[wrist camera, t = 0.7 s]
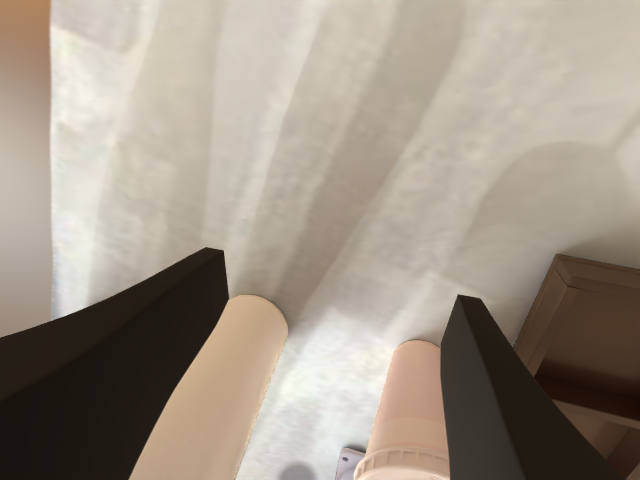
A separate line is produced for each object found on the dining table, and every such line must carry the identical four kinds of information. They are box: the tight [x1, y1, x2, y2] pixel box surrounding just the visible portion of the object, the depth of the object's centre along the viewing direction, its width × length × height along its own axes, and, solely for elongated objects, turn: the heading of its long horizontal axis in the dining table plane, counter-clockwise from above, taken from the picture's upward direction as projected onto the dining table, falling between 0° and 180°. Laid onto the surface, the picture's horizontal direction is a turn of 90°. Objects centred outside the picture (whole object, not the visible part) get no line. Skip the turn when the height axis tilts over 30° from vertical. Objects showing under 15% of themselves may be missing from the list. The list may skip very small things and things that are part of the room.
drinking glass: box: [129, 295, 288, 480], centre depth 21 cm, size 7×7×15 cm
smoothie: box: [354, 340, 450, 480], centre depth 19 cm, size 6×6×14 cm
